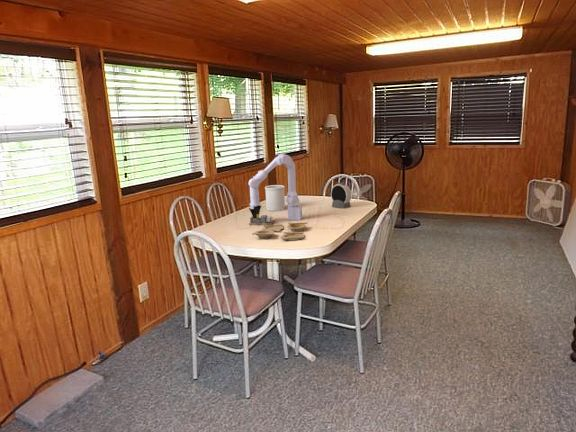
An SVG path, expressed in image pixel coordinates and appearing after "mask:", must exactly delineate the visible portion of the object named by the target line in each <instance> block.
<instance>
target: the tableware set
mask: <svg viewBox="0 0 576 432" xmlns="http://www.w3.org/2000/svg"><path fill="white" fill-rule="evenodd" d="M307 225H308V222H306V221H304V222H287V226H286V227H287V228H288V229H290V230H291V231H283V234H282V235H280V239H281V240H284V241H298V240H302V239H304V238H305V235H304V232H302V231H303V230H304V229H305V228H306V227H307ZM262 226H263V227H262V228H261V229H260V230H259V229H258V230H256V231H254V232H251V235H253V236H254V235H256V236H257V237H258V238H259V239H269V238H271V236H272V235H274V234H275V232H281V231H282V230H284V226H283V224H282V223H277V224H272V225H262Z"/></svg>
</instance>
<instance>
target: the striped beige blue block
mask: <svg viewBox="0 0 576 432" xmlns="http://www.w3.org/2000/svg"><path fill="white" fill-rule="evenodd" d="M265 220H266V222H272V221H273V220H274V219H273V216H267V217H265Z"/></svg>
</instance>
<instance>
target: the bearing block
mask: <svg viewBox="0 0 576 432" xmlns="http://www.w3.org/2000/svg"><path fill="white" fill-rule="evenodd" d="M265 217H268V214H263V215H261V216H259V218H260V219H261V223H266V220H265Z"/></svg>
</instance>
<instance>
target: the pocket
mask: <svg viewBox="0 0 576 432" xmlns="http://www.w3.org/2000/svg"><path fill="white" fill-rule="evenodd" d="M249 220H250V222H249V223H261V219H260V217H259V220H253V216H252V215H251V217H249Z"/></svg>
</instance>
